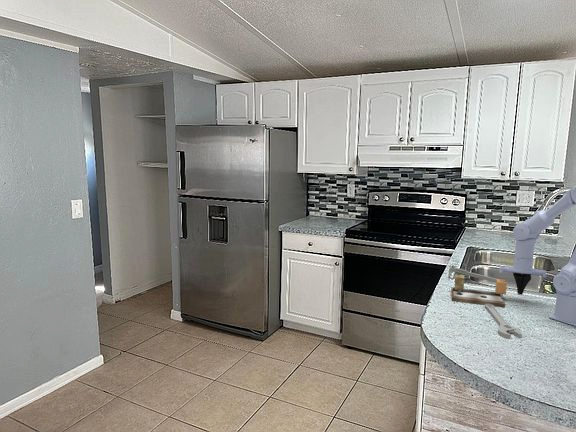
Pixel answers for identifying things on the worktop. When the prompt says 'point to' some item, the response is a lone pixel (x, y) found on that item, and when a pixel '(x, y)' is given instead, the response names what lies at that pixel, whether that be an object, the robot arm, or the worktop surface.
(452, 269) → the caliper
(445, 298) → the worktop surface
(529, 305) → the worktop surface
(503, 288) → the block
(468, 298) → the board
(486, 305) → the adjustable wrench
